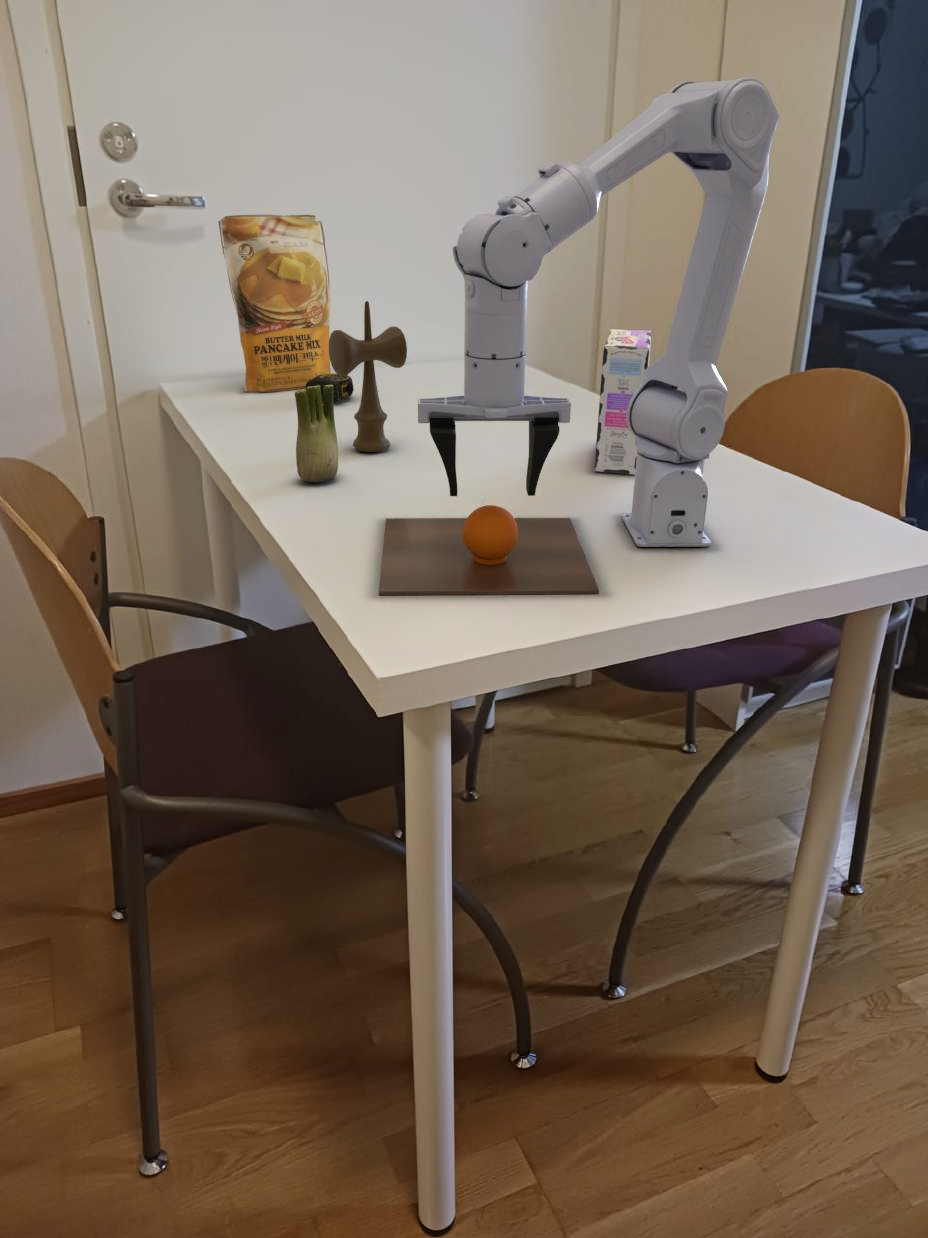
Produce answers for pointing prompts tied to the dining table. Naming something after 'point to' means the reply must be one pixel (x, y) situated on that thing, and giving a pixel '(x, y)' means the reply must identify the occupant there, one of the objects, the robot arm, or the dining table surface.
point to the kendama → (368, 375)
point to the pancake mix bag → (279, 297)
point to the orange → (490, 534)
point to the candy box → (620, 398)
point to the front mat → (443, 565)
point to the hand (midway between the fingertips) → (492, 492)
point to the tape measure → (334, 385)
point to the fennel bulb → (316, 434)
